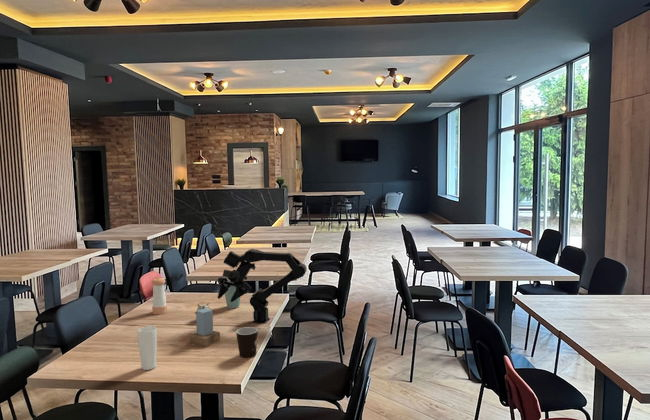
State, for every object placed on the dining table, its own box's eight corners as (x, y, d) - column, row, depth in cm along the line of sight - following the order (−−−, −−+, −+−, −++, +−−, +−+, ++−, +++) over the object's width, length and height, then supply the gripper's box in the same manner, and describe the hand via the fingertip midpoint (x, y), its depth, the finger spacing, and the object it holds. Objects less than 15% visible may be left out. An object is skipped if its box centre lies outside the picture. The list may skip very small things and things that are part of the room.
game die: (206, 328, 220) (206, 316, 214) (191, 321, 221) (190, 309, 215) (215, 314, 227) (216, 302, 220) (201, 308, 228) (201, 296, 222)
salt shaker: (170, 311, 236) (168, 276, 235) (158, 315, 230) (156, 279, 229) (161, 309, 240) (159, 274, 239) (149, 313, 234) (147, 277, 232)
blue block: (206, 330, 196) (206, 308, 195) (212, 332, 192) (212, 310, 192) (196, 333, 192) (196, 310, 191) (203, 335, 189) (202, 312, 188)
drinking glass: (142, 364, 170) (140, 326, 169) (160, 363, 171) (158, 325, 169) (136, 372, 163) (134, 332, 162) (155, 371, 164) (153, 331, 163)
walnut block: (204, 337, 198) (203, 329, 198) (220, 340, 194) (219, 331, 194) (189, 344, 190) (189, 335, 190) (206, 348, 186) (205, 338, 186)
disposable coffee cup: (240, 309, 237) (239, 282, 236) (220, 310, 237) (219, 282, 236) (244, 303, 247) (243, 277, 246) (225, 304, 248) (224, 277, 246)
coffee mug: (248, 361, 171) (247, 336, 170) (232, 356, 176) (231, 332, 175) (268, 350, 181) (267, 327, 180) (252, 346, 185) (251, 323, 185)
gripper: (219, 260, 216) (201, 287, 208) (245, 265, 205) (227, 293, 197) (232, 273, 223) (215, 300, 215) (258, 278, 211) (241, 306, 204)
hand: (224, 300), depth 207 cm, fingers open, 9 cm apart
